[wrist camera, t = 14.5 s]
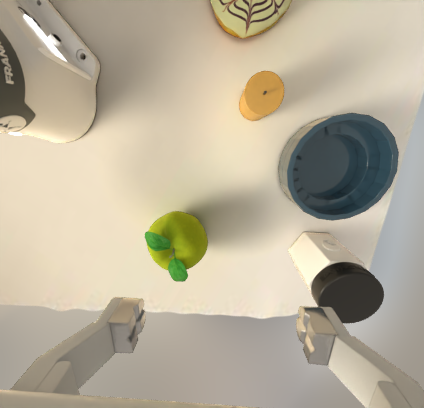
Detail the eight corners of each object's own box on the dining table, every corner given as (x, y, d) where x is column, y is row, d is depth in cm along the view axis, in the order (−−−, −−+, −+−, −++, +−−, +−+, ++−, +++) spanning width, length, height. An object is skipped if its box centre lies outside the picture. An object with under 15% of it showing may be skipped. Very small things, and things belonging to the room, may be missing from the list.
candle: (234, 97, 30) (238, 82, 22) (262, 81, 30) (276, 59, 22) (247, 126, 32) (255, 121, 24) (274, 111, 31) (292, 101, 23)
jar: (341, 232, 36) (397, 275, 25) (331, 271, 38) (377, 326, 27) (291, 229, 36) (322, 270, 25) (284, 268, 39) (310, 321, 27)
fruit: (175, 257, 39) (160, 294, 30) (150, 217, 37) (124, 243, 27) (217, 238, 38) (215, 271, 28) (193, 195, 35) (182, 215, 26)
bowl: (263, 147, 32) (270, 148, 27) (355, 98, 30) (382, 90, 25) (297, 222, 36) (309, 235, 31) (381, 184, 33) (409, 192, 28)
